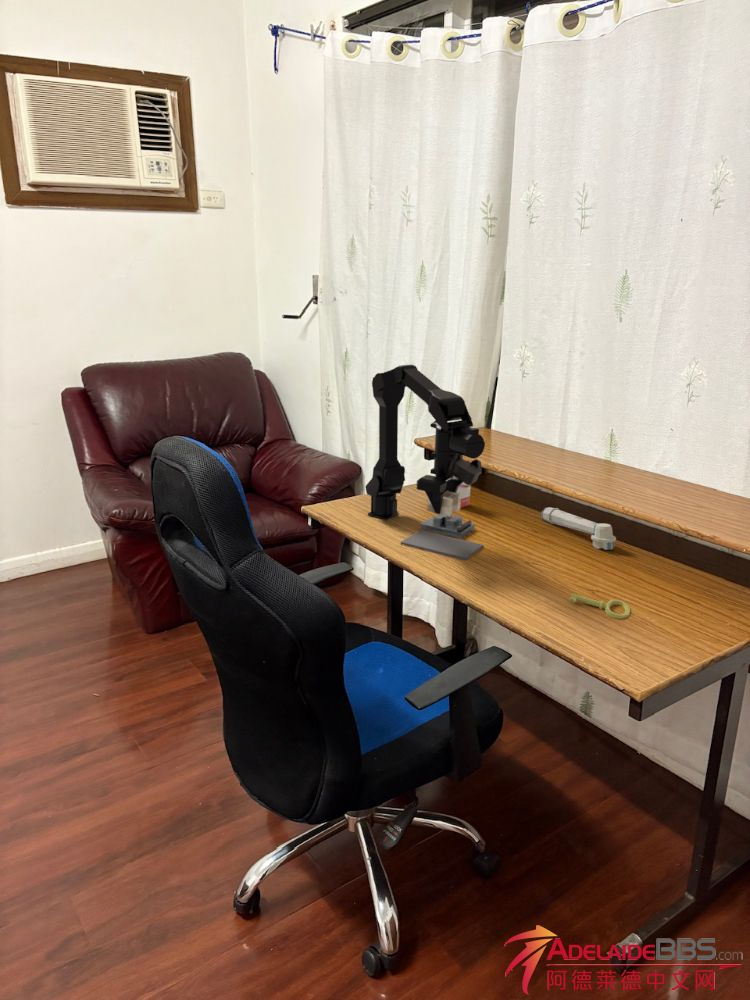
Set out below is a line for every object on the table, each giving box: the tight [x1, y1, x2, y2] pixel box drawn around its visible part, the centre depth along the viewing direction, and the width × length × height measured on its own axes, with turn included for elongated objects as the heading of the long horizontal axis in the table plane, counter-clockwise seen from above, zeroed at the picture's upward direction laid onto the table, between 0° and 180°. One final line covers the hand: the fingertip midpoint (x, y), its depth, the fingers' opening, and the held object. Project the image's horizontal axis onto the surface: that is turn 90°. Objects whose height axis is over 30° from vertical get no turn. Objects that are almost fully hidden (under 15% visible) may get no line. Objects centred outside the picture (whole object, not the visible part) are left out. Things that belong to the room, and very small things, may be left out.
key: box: [569, 593, 631, 620], centre depth 151 cm, size 7×12×2 cm, turn 83°
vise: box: [419, 514, 476, 540], centre depth 192 cm, size 12×8×8 cm, turn 58°
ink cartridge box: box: [457, 482, 472, 509], centre depth 211 cm, size 9×5×15 cm, turn 43°
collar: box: [426, 491, 461, 516], centre depth 179 cm, size 6×6×4 cm
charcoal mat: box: [400, 529, 484, 561], centre depth 182 cm, size 18×10×1 cm, turn 58°
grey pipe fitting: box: [540, 506, 617, 551], centre depth 191 cm, size 5×7×25 cm
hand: (443, 510), depth 179 cm, fingers closed on collar, 6 cm apart
